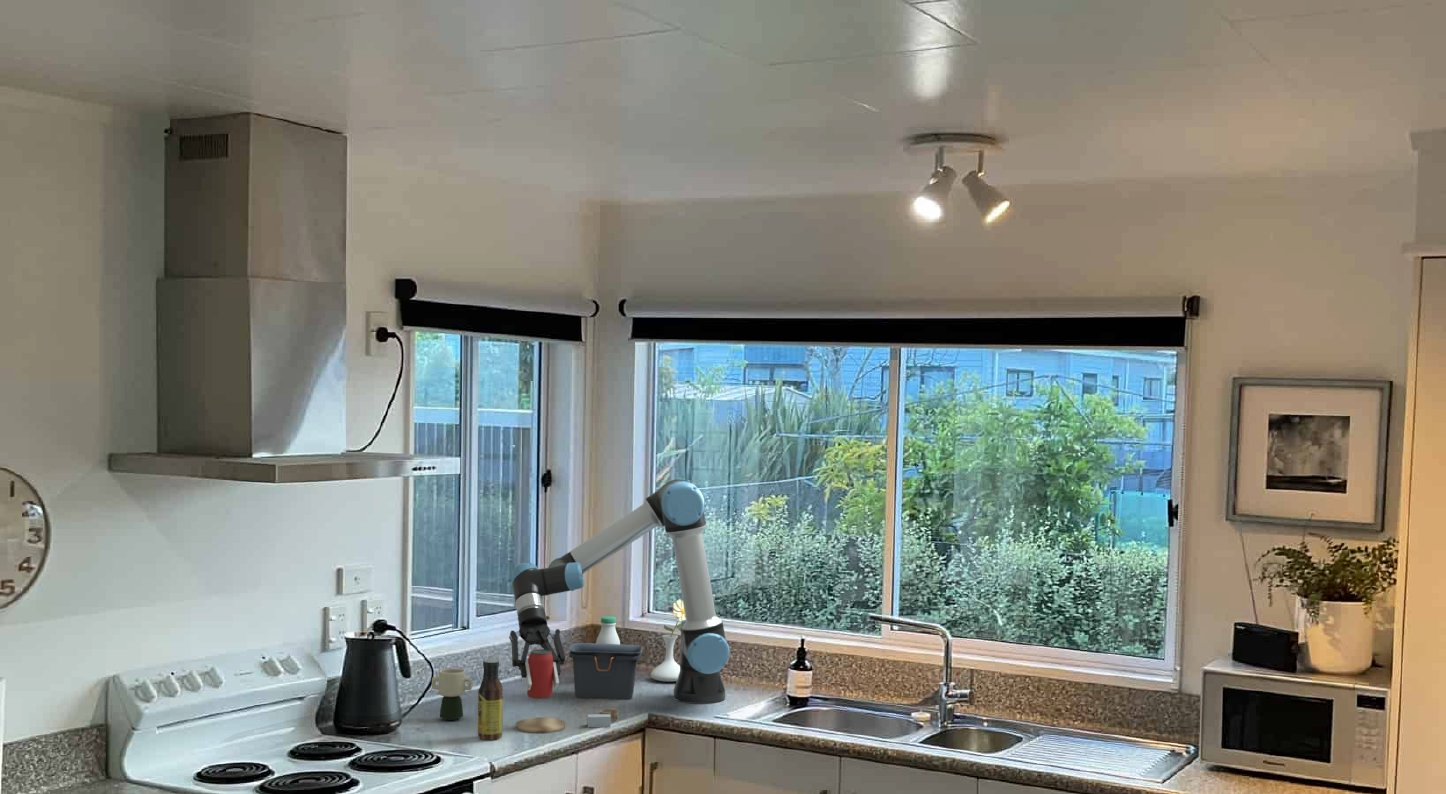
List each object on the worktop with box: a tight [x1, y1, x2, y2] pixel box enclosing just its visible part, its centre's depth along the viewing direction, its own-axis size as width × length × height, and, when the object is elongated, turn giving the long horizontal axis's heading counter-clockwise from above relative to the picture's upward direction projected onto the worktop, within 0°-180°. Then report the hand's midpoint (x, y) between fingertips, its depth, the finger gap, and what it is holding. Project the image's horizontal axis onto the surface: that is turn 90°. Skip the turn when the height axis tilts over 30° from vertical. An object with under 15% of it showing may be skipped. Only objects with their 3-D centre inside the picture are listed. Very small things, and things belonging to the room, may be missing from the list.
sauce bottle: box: [477, 658, 504, 741], centre depth 349 cm, size 7×6×20 cm
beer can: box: [526, 648, 554, 700], centre depth 362 cm, size 7×7×12 cm
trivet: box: [515, 717, 567, 734], centre depth 362 cm, size 13×13×1 cm
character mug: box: [431, 667, 473, 721], centre depth 369 cm, size 11×7×13 cm, turn 87°
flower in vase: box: [650, 599, 686, 683], centre depth 425 cm, size 13×11×25 cm
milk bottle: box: [595, 615, 621, 645], centre depth 420 cm, size 8×8×20 cm
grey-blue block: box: [586, 713, 612, 729], centre depth 364 cm, size 6×3×3 cm, turn 99°
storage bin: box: [568, 642, 644, 700], centre depth 400 cm, size 21×16×14 cm
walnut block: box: [598, 707, 619, 724], centre depth 371 cm, size 6×3×3 cm, turn 161°
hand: (543, 686), depth 359 cm, fingers closed on beer can, 6 cm apart
